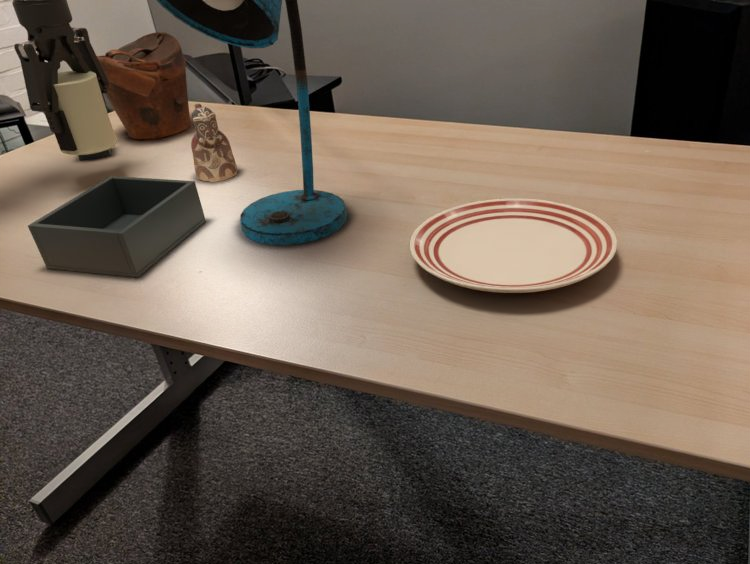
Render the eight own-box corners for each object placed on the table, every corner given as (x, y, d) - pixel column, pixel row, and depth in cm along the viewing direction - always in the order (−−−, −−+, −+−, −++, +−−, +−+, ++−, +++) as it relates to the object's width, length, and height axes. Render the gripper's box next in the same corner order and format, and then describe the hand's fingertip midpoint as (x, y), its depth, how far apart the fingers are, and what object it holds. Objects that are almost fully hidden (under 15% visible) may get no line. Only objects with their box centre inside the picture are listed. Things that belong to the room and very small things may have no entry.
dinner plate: (385, 236, 95) (383, 215, 93) (550, 201, 103) (552, 181, 101) (456, 335, 74) (456, 310, 72) (657, 282, 82) (661, 259, 80)
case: (103, 150, 130) (70, 55, 120) (123, 120, 146) (95, 34, 136) (196, 141, 133) (171, 47, 122) (205, 113, 149) (184, 27, 138)
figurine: (198, 184, 114) (179, 115, 107) (195, 171, 119) (177, 104, 112) (239, 177, 116) (223, 109, 109) (235, 164, 121) (219, 98, 114)
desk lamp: (196, 250, 94) (82, -136, 67) (285, 192, 110) (220, -138, 83) (290, 269, 88) (205, -143, 62) (368, 204, 104) (327, -144, 78)
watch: (79, 163, 125) (56, 105, 118) (82, 150, 131) (61, 94, 124) (110, 159, 126) (90, 101, 120) (112, 146, 132) (93, 90, 126)
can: (123, 135, 119) (101, 66, 112) (110, 153, 111) (86, 79, 104) (69, 139, 117) (44, 69, 110) (53, 157, 110) (25, 83, 103)
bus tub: (46, 268, 91) (27, 225, 87) (124, 214, 105) (110, 175, 101) (138, 277, 88) (122, 233, 84) (206, 221, 102) (194, 180, 98)
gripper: (4, 9, 91) (63, 164, 105) (104, -14, 108) (143, 122, 122) (-40, 8, 93) (23, 161, 106) (65, -15, 110) (108, 120, 123)
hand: (87, 140), depth 114 cm, fingers closed on can, 9 cm apart
